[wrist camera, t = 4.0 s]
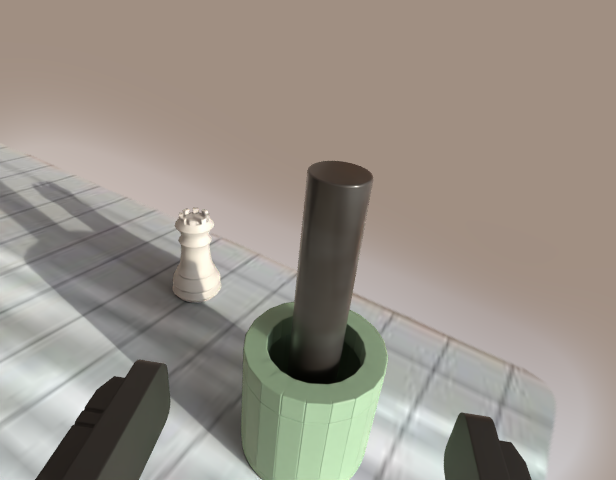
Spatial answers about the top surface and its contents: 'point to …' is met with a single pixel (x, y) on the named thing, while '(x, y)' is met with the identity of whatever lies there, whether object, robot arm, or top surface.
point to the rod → (327, 267)
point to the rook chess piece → (195, 258)
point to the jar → (308, 402)
